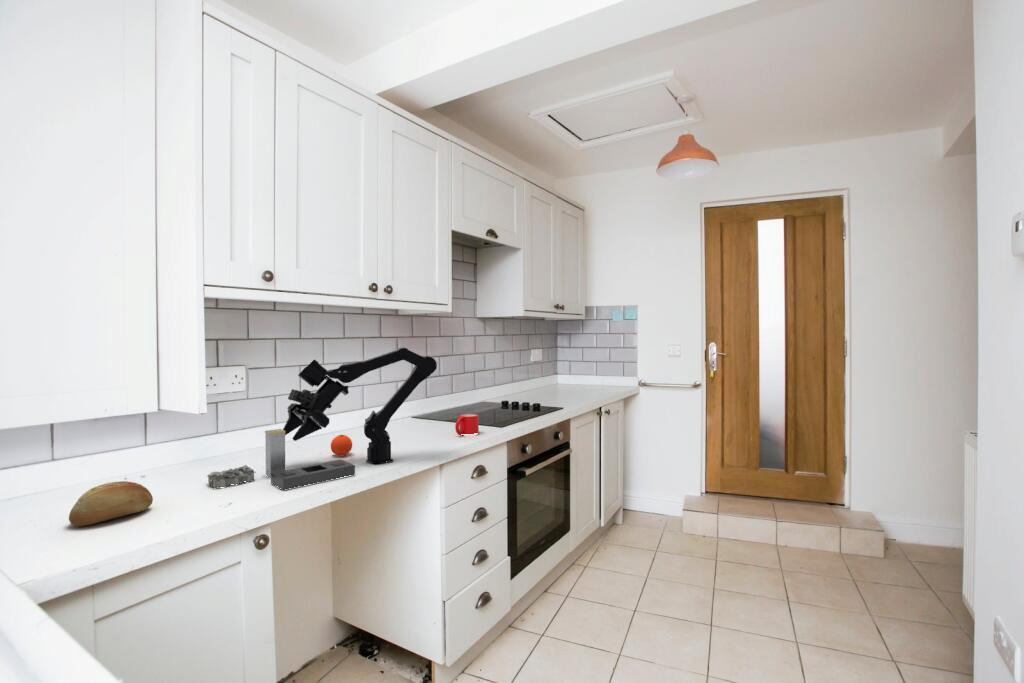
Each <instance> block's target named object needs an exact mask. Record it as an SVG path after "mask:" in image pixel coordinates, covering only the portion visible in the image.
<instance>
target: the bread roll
mask: <svg viewBox="0 0 1024 683" xmlns="http://www.w3.org/2000/svg"><path fill="white" fill-rule="evenodd" d="M153 501H154V500H153V495H152V493H151V491H150V490H149V489H148V488H147V487H145V486H144V485H142V484H140V483H138V482H133V481H126V480H123V481H111V482H108V483H102V484H99V485H97V486H94V487H92V488H90V489H88V490H87V491H85V492H84V493H83V494H82V495H81V496H80V497H79V498H78V499H77V501H76V502H75V504H73V506H72V508H71V510H70V512H69V515H68V521H69V524H70V525H72V526H74V527H85V526H90V525H91V526H92V525H94V524H95V525H96V524H98V523H101V522H105V521H109V520H113V519H116V518H120V517H124V516H126V515H130V514H135V513H139V512H140V513H141V512H143V511H146V510H147V509H148V508H149V507H151V506H152V505H153Z"/></svg>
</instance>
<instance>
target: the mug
mask: <svg viewBox="0 0 1024 683" xmlns="http://www.w3.org/2000/svg"><path fill="white" fill-rule="evenodd" d="M479 420H480V419H479V414H477V413H461V414H459V415H458V418H457V421H456V422H455V426H454V427H455V432H456V434H457V435H459V436H461V434H474V433H478V432H479V422H480V421H479Z"/></svg>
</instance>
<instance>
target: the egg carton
mask: <svg viewBox="0 0 1024 683" xmlns="http://www.w3.org/2000/svg"><path fill="white" fill-rule="evenodd" d="M255 473H256V474H257V472H256V471H254V469H253V468H251V467H250V466H248V465H247V464H245V465H242V466H239V467H235V468H234V469H233V468H229V469H227V470H225V469H224V470H222V471H211V472H210V473H208V474H207V475H206V477H207V478H208V482H207V483H208V486H209V485H213V486H212V487H214V488H217V487H225V486H226V485H231V484H234V485H235V486H237V485H236V484H239V483H240V482H244V481H246V482H249V481H251V480H253V479H254V480H255ZM254 480H253V481H254ZM251 482H252V481H251ZM249 483H250V482H249ZM240 484H241V483H240ZM240 484H239V485H240ZM234 485H233V486H234ZM231 486H232V485H231ZM226 487H227V486H226ZM226 487H225V488H226ZM214 488H213V489H214ZM217 489H218V488H217Z"/></svg>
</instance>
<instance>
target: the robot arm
mask: <svg viewBox="0 0 1024 683" xmlns="http://www.w3.org/2000/svg"><path fill="white" fill-rule="evenodd" d="M400 361H405V362H407V363H409V364H412V365H414V366H413V368H412V370H411V372H410V375H409V376H408V377H407V378H406V379H405V380H404V382H403V383H402V385H400V387H399V388H398V389H397V390H396V391H395V393H393V395H392V396H391V398H389V400H388V401H387V402H386V403H385V404H384V405H383V407H382V408H381V409H380V410H379V411H377V412H376V411H375V410H372V411H371V413H370V414H369V416H368V417H367V418H365V419H364V421H365V422H364V423H363V424H364V425H363V433H364V435H365V437H366V438H367V439H370V441H369V442H368V447H367V448H366V449H367V450H366V453H367V455H366V460H367V461H366V460H365V461H366V462H368V461H370V462H369V463H371V462H372V463H371V464H373V463H380V464H382V463H381V462H385V463H387V462H386V461H391V462H394V459H393V458H392V441H391V440H390V439H391V438H390V434H389V432H388V431H387V430H386V428H387V427H388V424H389V422H390V420H391V418H392V417H393V416H394V414H395V413H396V412H397V411H398V409H400V407H401V406H402V405H403V404H404V403H405V402H406V400H407V399H408V397H410V395H411V394H412V393H413V392H414V390H416V388H417V387H418V386H419V384H421V383H422V382H424V380H426V379H428V378H429V377H430V376H431V375H432V374H433V373H434V372H436V370H437V366H438V365H437V361H436V359H435V358H433V356H429V355H423V356H422V355H420V354H418V353H416V352H413V351H412V350H409V349H408V348H407V347H399V348H398V349H394V350H392V351H388V352H386V353H383V354H381V355H378V356H375V357H372V358H369V359H366V360H360V361H353V362H347V363H346V362H345V363H343V364H340V365H339V366H338V367H337V368H334V369H330V370H329V369H328V370H327V369H326V368H325V367H324V366H322V365H321V363H319V361H318V360H316V359H313V360H312V361H311V362H309V364H307V366H305V367H304V368H303V369H302V370H301V371H300V373H298V377H299V378H301V380H303V381H304V382H305V383H307V384H308V385H309V386H310V387H312V388H313V387H314V386H315V387H319V386H320V385H321V384H322V383H323V382H324V383H323V384H322V385H321V386H320V387H319V388H318V389H317V390H316V391H315V392H311V390H308V389H303V390H302V391H300V390H298V389H293V388H291V390H290V393H289V395H288V397H287V400H289V401H293V402H294V403H290V404H289V405H288V407H286V409H287V413H288V415H287V416H288V418H287V420H286V422H285V424H284V426H283V428H282V430H284V431H286V433H285V436H287V435H288V434H290V433H291V432H293V431H295V430H296V429H298V430H297V431H296V432H295V434H294V435H293V437H292V440H293V441H299V440H300V439H302V438H304V437H307V436H308V435H310V434H313V433H316V432H317V431H319V430H322V429H323V428H324V429H326V427H328V425H329V424H330V418H329V417H328V416H327V415H326V414H325V413H324V412H325V411H326V410H327V409H331V408H332V407H333V405H332V403H333V402H334V401H335V400H336V398H337V397H338V396H340V394H343V395H344V396H347V395H348V394H349V393H350V392H349V385H343V384H348V383H351V382H354V381H355V380H356V379H359V378H360V377H362V376H364V375H365V374H367V373H369V372H372V371H375V370H378V369H380V368H383V367H387V366H389V365H392V364H395V363H398V362H400ZM334 379H335V380H336V381H335V380H334ZM325 380H326V381H325ZM342 383H343V384H342ZM295 402H296V403H295Z"/></svg>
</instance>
